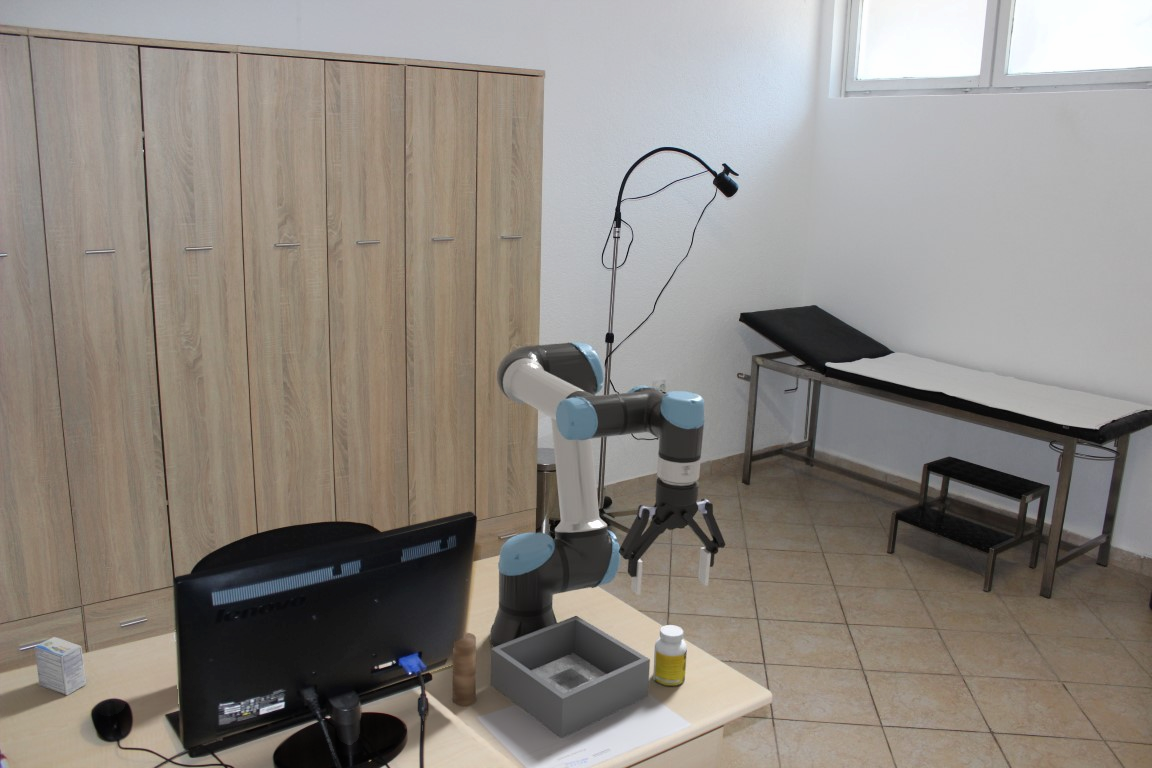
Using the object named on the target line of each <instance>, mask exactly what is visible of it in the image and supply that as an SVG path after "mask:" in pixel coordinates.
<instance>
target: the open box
mask: <svg viewBox="0 0 1152 768" xmlns="http://www.w3.org/2000/svg"><path fill="white" fill-rule="evenodd" d="M572 653H574V654H576V655H577V656H579V657H580V658H582V659H584V660H585V661H587V662H588V663H590V664H591V665H593V666H595V667H596V668H598V669H599V670H601V671H602V672H604V673H606V675H604V676H602V677H599V678H597V679H595V680H593V681H590V682H588V683H586V684H584V685H581V686H579V684H577V683H576V682H574V681H573V680H571V679H569V680H567V681H565V682H563V683H560V684H559V685H560V686H562V687H563V688H564V689H566V690H567V691H568V690H570V689H572V688H574V687H577V686H579V687H577V688H575V689H573V690H570V691H568V692H566V693H562V692H561V691H559V690H558V689H556V688H555V687H554V686H552V685H551V684H549V683H548V682H546V681H545V680H544V679H542V678H541V677H539V676H538V675H536V674H535V673H533V672H532V671H531V670H534V669H536V668H538V667H541V666H543V665H546V664H548V663H550V662H553V661H555V660H558V659H560V658H562V657H565V656H567V655H570V654H572ZM650 663H651V659H650V658H649V657H647V656H645V655H644V654H642V653H640V652H638V651H637V650H635V649H633V648H632V647H630V646H629V645H626V644H625V643H623V642H621V641H620V640H618V639H616V638H615V637H613V636H612V635H609V634H608V633H606V632H605V631H603V630H602V629H600V628H598V627H596V626H595V625H593V624H591V623H590V622H588V621H586V620H584V619H583V618H581V617H579V616H577V615H575V616H572V617H569V618H567V619H563V620H561V621H559V622H557V623H556V624H553V625H551V626H548V627H545V628H543V629H540V630H538V631H535V632H532V633H530V634H527V635H525V636H522V637H519V638H517V639H514V640H512V641H509V642H506V643H504V644H501V645H499V646H496V647H493V646H492V648H491V649H490V686H491V687H493V688H494V689H495V690H497V691H498V692H500V693H501V694H502V695H503V696H505V698H507V699H509V700H510V701H511V702H513V703H514V704H515V705H516V706H518V707H519V708H520V709H521V710H523V711H525V712H526V713H527V714H528V715H529V716H531V717H533V718H534V719H535V720H537V721H538V722H539V723H540V724H542V725H543V726H544V727H545V728H548V730H550V731H552V732H553V733H554V734H555V735H556V736H558V737H559V738H560V739H563V738H565V737H567V736H569V735H571V734H573V733H576V732H578V731H580V730H581V729H583V728H586V727H588V726H590V725H592V724H594V723H597V722H598V721H601V720H603V719H604V718H607V717H608V716H610V715H612V714H614V713H617V712H618V711H620V710H622V709H625V708H626V707H628V706H630V705H633V704H635V703H637V702H639V701H641V700H643V699H645V698H647V697H649V685H650V684H649V683H650V668H651V667H650Z"/></svg>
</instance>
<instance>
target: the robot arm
mask: <svg viewBox="0 0 1152 768" xmlns="http://www.w3.org/2000/svg"><path fill="white" fill-rule="evenodd" d="M496 381H497V386H498V388H499V390H500V391H501V393H502V394H503V395H504V396H505V398H506V397H507V398H508V399H509V400H511V401H512V402H514V403H517V404H523V405H525V404H527V405H529V406H531V407H532V408H535V409H536V410H538V411H539V412H541V413H543V414H545V415H546V416H548V417H549V418H551V419H550V420H551V430H552V437H553V438H552V441H553V448H554V449H553V450H554V451H553V452H554V459H555V460H554V462H555V472H556V484H557V492H558V494H557V495H558V504H559V515H560V522H559V523H558V524H557V526H556V527H555V528H554V536H555V538H553V537H552V536H551V535H549V534H547V533H544V532H540V531H539V532H536V533H535V532H534V531H533V532H532V531H531V532H525V533H519V534H517V535H513V536H511V537H510V538H509V539H507V540H506V541H505V542H504V544H502V546H501V548H500V551H499V559H498V560H499V561H498V565H497V567H498V609H497V611H496V614H495V617H494V622H493V624H492V626H491V628H490V637H489V639H490V644H491V647H492V648H493V647H496V646H499V645H501V644H504V643H506V642H509V641H512V640H514V639H517V638H519V637H522V636H525V635H527V634H530V633H532V632H535V631H538V630H540V629H543V628H545V627H548V626H551V625H553V624H556V623H558V622H557V621H558V620H557V617H556V615H555V613H554V609H553V601H554V599H553V597H554V595H556V594H563V593H566V592H572V591H573V592H574V591H576V590H584V589H588V588H589V589H590V588H592V589H595V588H597V587H600V586H603V585H607V584H610V583H611V582H612V581H614V579H615V577H616V576H617V575H618V571H619V569H620V566H621V565H620V564H621V557H622V558H623V560H628V561H627V572H628V573H627V574H628V575H629V576H630V577H631V583H630V589H631V590H632V591H633V593H634V594H635V596H636V595H637V596H641V594H642V593H641V592H642V580H643V579H642V577H643V560H642V559H641V558H642V557H643V555H644V554H645V552H647V551H648V549H649V548H650V547H651V546H652V544H653V543H654V542H655V541H656V539H657V538H658V537H659V536H660V535H663V533H664V532H665V531H666V530H668V531H671V530H672V531H673V530H675V529H685V528H686V527H687V526H688V527H689V529H691V531H692V532H693V533H694V534H695V536H696V537H697V538H698V539H699V540H700V542H701V543H702V544H703V545H704V546H703V547H700V549H699V550H700V551H699V563H698V577H697V580H698V581H699V582H700V583H701V584H702V585H703V586H704V587H708V586H709V581H710V580H709V579H710V570H711V568H712V567H714V565H715V555H716V554H718V552H719V549H720V548H721V549H724V548H725V546H726V542H725V539H724V537H723V535H722V532H721V530H720V528H719V525H718V523H717V520H716V517H715V515H714V506H713V503H712V502H710V501H709V500H708V499H707V498H705V497H703V498H701V500H700V501H698V499H699V486H700V485H699V484H700V483H699V479H700V471H701V470H700V469H701V458H702V449H703V448H702V447H703V436H704V428H705V427H704V425H705V420H706V419H705V418H706V416H705V400H704V398H703V397H702V396H701V395H700V394H698V393H694V392H690V391H688V390H687V391H686V390H673V391H669V392H665V393H664V392H662V391H660V390H658V389H657V388H655V387H653V386H652V387H651V386H648V385H643V384H642V385H641V384H640V385H637V386H634V387H633V388H631V389H630V390H628V391H627V392H625V393H623V392H622V393H612V394H602V395H596V394H598V393H599V392H600V391H602V388H603V386H604V385H603V383H604V368H603V366H602V362H601V360H600V357H599V355H598V353H597V352H596V351H595V349H594V348H593V347H592V346H591V345H589V344H588V343H585V342H565V343H551V344H540V345H539V344H537V345H533V344H532V345H531V344H530V345H525V346H524V345H523V346H521V347H517V348H516V349H513V350H512V351H510V352H509V353H507V354H506V355H505V357H503V358H502V360H501V361H500V362H499V364H498V367H497V371H496ZM641 433H649V434H651V435H652V436H654V437H656V438H657V439H658V455H657V468H656V475H657V478H656V481H655V482H656V483H655V502H654V505H653V506H646V505H644V504H640V505H638V507H637V513H636V516H635V519H634V521H633V522H632V524H631V526H630V529H629V530H628V531H627V534H626V535H625V537H624V540H623V542H622V543H621V545H620V544H619V542H618V537H617V536H616V534H615V533H614V532H613V531H611V530H609V529H608V524H607V523H606V522H605V521H604V520H603V519H602V518H601V517H600V511H599V510H600V509H599V508H600V507H599V500H598V488H597V477H596V469H595V468H596V466H595V455H594V447H593V439H599V438H607V437H615V436H624V435H633V434H641ZM698 511H699V512H700V513H701V514H702V517H703V519H704V521H705V524H706V526H707V528H708V531H709V533H710V536H711V538H712V540H711V539H710V538H709V537H708V535H706V533H705V532H704V531H703V530H702V528H701V527H700V525H699V524H698V523H697V522H696V520H695V519H694V517H695V516H696V515H697V513H698ZM653 515H654V517H653V518H652V516H653ZM651 519H652V520H651ZM650 520H651V521H650ZM649 521H650V524H649V526H648V527H647V525H648V523H649ZM659 524H660V525H659ZM646 527H647V528H646Z"/></svg>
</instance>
